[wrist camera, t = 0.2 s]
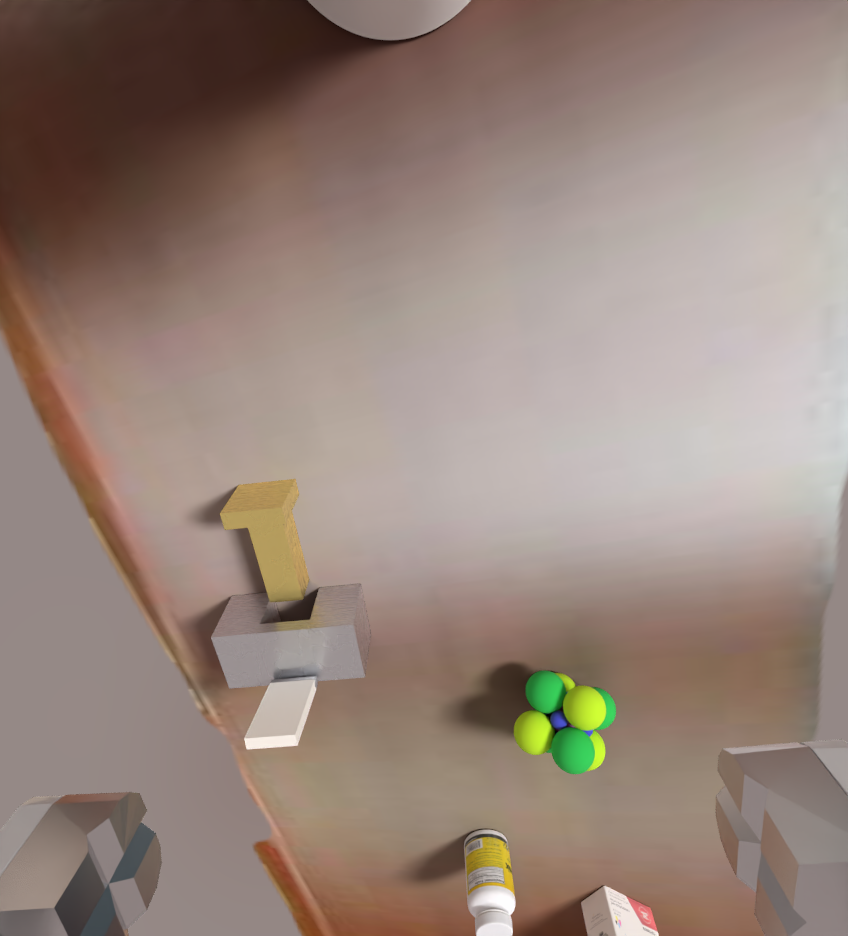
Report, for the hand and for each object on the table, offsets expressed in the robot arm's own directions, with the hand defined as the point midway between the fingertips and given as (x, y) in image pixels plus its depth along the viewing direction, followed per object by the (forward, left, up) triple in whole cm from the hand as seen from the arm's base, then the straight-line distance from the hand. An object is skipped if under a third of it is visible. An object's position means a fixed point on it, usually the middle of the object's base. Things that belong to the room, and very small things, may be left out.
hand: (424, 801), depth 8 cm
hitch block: (+27, -16, -39) cm, 50 cm away
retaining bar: (+30, -16, -32) cm, 47 cm away
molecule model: (+38, +8, -39) cm, 55 cm away
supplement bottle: (+64, -1, -39) cm, 75 cm away
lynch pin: (+18, -16, -39) cm, 45 cm away
